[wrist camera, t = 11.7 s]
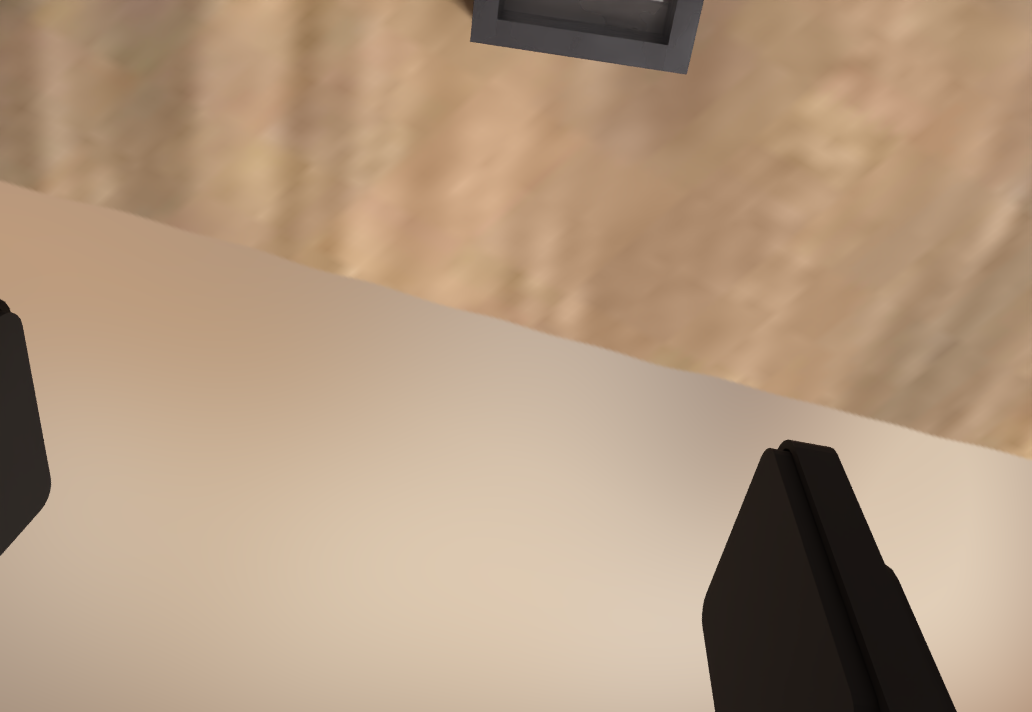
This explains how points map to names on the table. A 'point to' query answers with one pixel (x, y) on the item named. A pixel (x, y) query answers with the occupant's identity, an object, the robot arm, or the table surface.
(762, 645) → the robot arm
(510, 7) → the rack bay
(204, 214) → the table surface
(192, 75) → the table surface
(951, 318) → the table surface
